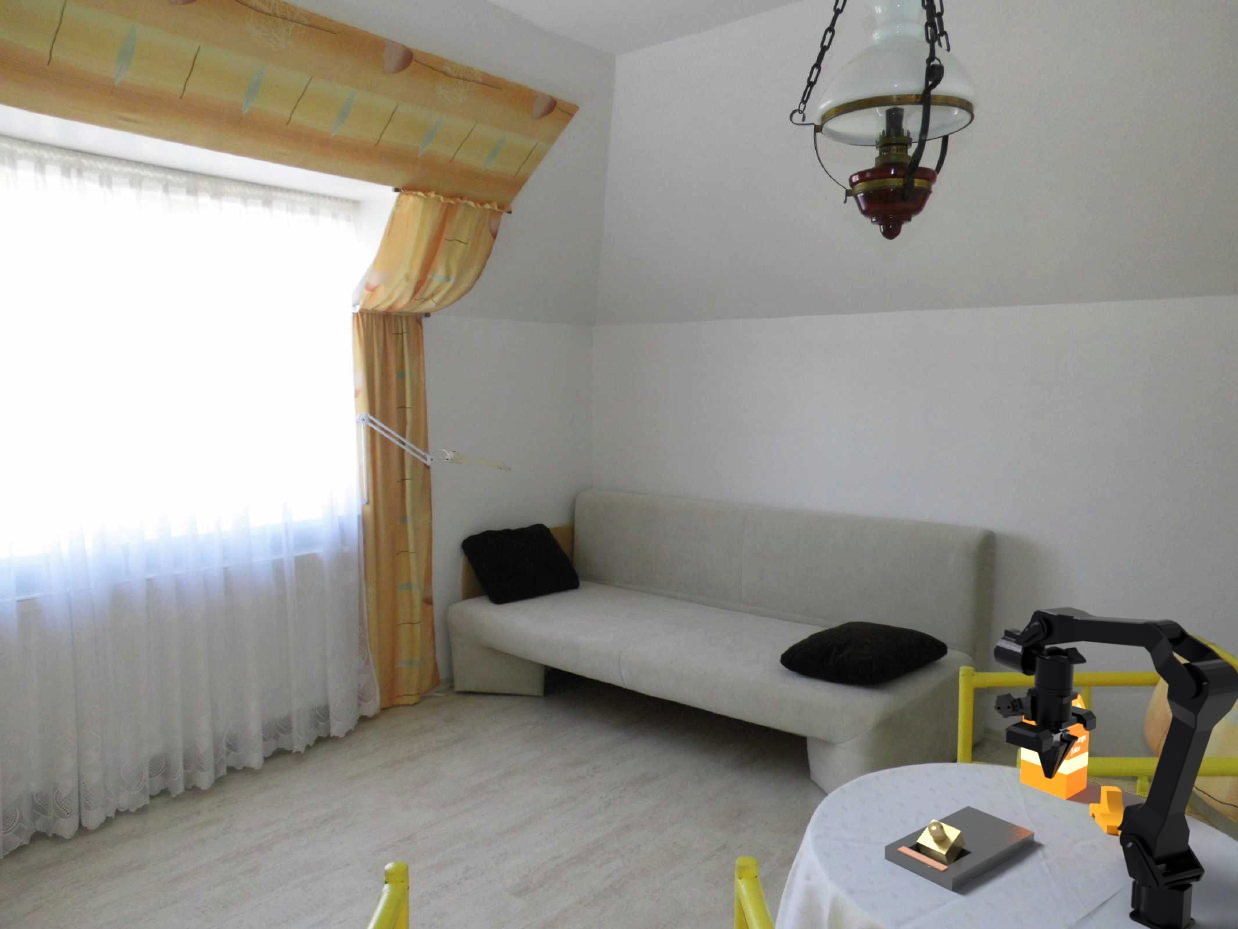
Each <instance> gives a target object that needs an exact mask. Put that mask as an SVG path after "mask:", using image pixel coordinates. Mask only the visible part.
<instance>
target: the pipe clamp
mask: <svg viewBox="0 0 1238 929" xmlns="http://www.w3.org/2000/svg"><path fill="white" fill-rule="evenodd" d="M1100 787H1101V788H1100V789H1101V790H1100V803H1090V804H1089V815H1090V817H1092V818H1095V819H1094V822H1095V823H1096V824H1097V825H1098V826H1099V827H1100V828H1101V830H1102V831H1103V832H1104V833H1105V834H1106V835H1109V834H1110V835H1118V836H1119V838H1120V833H1121V831H1119V830H1117V828H1118V827H1119V826H1120V824H1121V822H1122V819H1123V811H1124V809H1125V807H1124V802H1123V791H1122V790H1121V789H1120V788H1119V787H1118V786H1111V785H1110V786H1109V785H1107V786H1106V785H1101V786H1100Z"/></svg>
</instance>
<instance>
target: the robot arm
mask: <svg viewBox="0 0 1238 929" xmlns="http://www.w3.org/2000/svg"><path fill="white" fill-rule="evenodd" d="M1003 631H1004V632H1003V633H1004V634H1003V636H1002V637H1000V639H998V641H997V643H996V646H995V647H994V649H993V657H994V660H995V662H996V663H997V664H998V665H999V666H1000V667H1003V668H1006V669H1008V670H1010V671H1014V672H1016V673H1018V674H1021V675H1024V676H1028V677H1034V679H1033V686H1032V687H1030V688H1028V689H1027V690H1026V692H1021V693H1012V694H1011V692H1007V693H1005V694H1004V693H1000V694H997V695H996V698H995V701H994V702H995V705H994V706H993V707H994V710H995V711H996V712H997V713H998V714H999V715H1001V717H1002V718H1003V719H1009V717H1023V715H1024V720H1028V721H1034V722H1035V724H1036V725H1033V724H1030V723H1026V722H1023V720H1022V721H1018V722H1016V723H1013V724H1011V725H1009V726H1008V727H1006V728H1005V729H1004V739H1003V740H1004V742H1005V744H1010V745H1013V746H1016V747H1019V748H1021V747H1022V748H1025V749H1028V750H1031V751H1034V752H1037V753H1038V756H1039V760H1040V763H1041V766H1042V770H1043V773H1044V776H1045V778H1048V779H1052V778H1054V776H1055V774H1056V773H1057V771H1058V770H1059V768H1060V766H1061V765H1062V763H1063V761H1064V760H1065V758H1066V756H1067V755H1068V753H1069V752H1070V750H1071V749H1072V747H1073V746H1074V744H1075V743H1076V741H1078V739H1079V737H1077V736H1075V735H1071V734H1070V730H1068V728H1069V727H1071V726H1073V725H1076V724H1082V725H1083V728H1084V730H1085V731H1089V732H1090V731H1092V730H1095V729H1097V728H1096V727H1097V716H1096V715H1095V713H1094V712H1093V711H1092V710H1091V709H1087V708H1085V709H1084V708H1080V707H1076V706H1073V705H1072V701H1073V700H1075V699H1078V695H1079V692H1078V691H1074V674H1075V673H1074V672H1075V665H1082V664H1087V659H1086V657H1085V656H1084V655H1083V654H1081V653H1080V652H1079V649H1078V648H1077V646H1076V647H1075V646H1072V647H1065V648H1063V647H1059V646H1057V645H1061V644H1062V645H1063V644H1070V643H1079V642H1087V643H1098V644H1106V645H1107V644H1110V645H1116V646H1117V645H1119V646H1120V645H1121V646H1128V647H1129V646H1130V647H1139V648H1140V647H1141V648H1144V649H1145V650H1146V651H1147V652H1148V654H1150V658H1151V660H1152V664H1153V666H1154V669H1155V671H1156V673H1157V674H1158V675H1159V676H1160V678H1161V679H1162V680H1163V681H1164V682H1165V683H1166V684H1167V691H1166V699H1167V703H1168V706H1169V708H1170V711H1171V719H1170V722H1169V726H1168V729H1167V733H1166V735H1165V738H1164V742H1163V745H1162V748H1161V751H1160V754H1159V757H1158V760H1157V764H1156V767H1155V770H1154V773H1153V776H1152V779H1151V781H1150V786H1149V788H1148V791H1147V792H1148V793H1147V796H1146V798H1145V800H1144V801H1143V802H1139V803H1134V804H1130V805H1126V806H1125V807H1124V811H1123V819H1122V822H1121V824H1120V826H1119V827H1118V828H1117V830H1119V831H1121V833H1120V837H1119V840H1118V841H1119V845H1120V846H1121V849H1122V852H1123V856H1124V861H1125V865H1126V870H1127V874H1128V877H1129V878H1131V879H1133V880H1132V881H1131V897H1130V907H1131V909H1132V910H1131V911H1130V912H1129V913H1128V917H1129V919H1131V920H1134V921H1137V922H1138V923H1141V924H1143V925H1145V926H1148V927H1150V928H1153V929H1190V928H1192V927H1193V926H1194V925H1195V924H1196V919H1195V918H1193V917H1192V916H1191V915H1192V900H1193V886H1194V885H1193V884H1192V883H1198V882H1200V881H1201V880H1202V878H1203V876H1204V875H1205V872H1206V871H1205V868H1204V867H1203V865H1202V864H1201V862H1200V860H1199V858H1198V857H1197V855H1196V853H1194V850H1193V849H1192V848H1191V845H1190V844H1189V842H1190V834H1191V832H1190V831H1191V830H1190V827H1189V824H1188V822H1187V821H1188V820H1187V819H1186V811H1187V807H1188V804H1189V801H1190V799H1191V795H1192V792H1193V789H1194V788H1195V787H1194V786H1195V783H1196V780H1197V777H1198V774H1199V771H1200V768H1201V766H1202V762H1203V759H1204V756H1205V754H1206V750H1207V748H1208V744H1209V742H1210V739H1211V735H1212V732H1213V730H1214V728H1215V726H1216V725H1218V724H1219V723H1220V722H1221V720H1222V719H1223V718H1225V717H1226V715H1227V714H1228V713H1230V712H1231V711H1232V709H1233V707H1234V706H1235V704H1236V703H1237V701H1238V670H1236V668H1235V667H1234V666H1233V665H1232V664H1230V662H1228V661H1226V660H1225V659H1224V658H1222V657H1221V656H1220V655H1219V653H1218V652H1216V650H1214V649H1213V648H1212V647H1210V646H1209V645H1207V644H1206V643H1204V642H1203V641H1201V640H1199V639H1198V638H1196V637H1194V636H1193V635H1192V634H1189V633H1188V632H1187V631H1186V629H1184V628H1183V626H1182V625H1181V624H1180V623H1178V622H1177V621H1176V620H1172V619H1168V618H1165V619H1144V618H1143V619H1142V618H1128V617H1126V618H1125V617H1112V616H1111V617H1109V616H1098V615H1093V614H1090V613H1089V612H1087V611H1085V610H1081V609H1078V608H1074V607H1071V606H1065V607H1053V608H1042V609H1041V608H1040V609H1036V610H1034V611H1033V612H1032V615H1031V618H1030V621H1029V622H1028V624H1027V625H1026V626H1025V627H1024V628H1023V630H1022V631H1021V630H1019V629H1016V628H1007V629H1006V628H1005V629H1004V630H1003ZM1046 646H1050V647H1046ZM1175 654H1176V655H1178V656H1179V657H1181V658H1182V659H1184V660H1185V661H1187V662H1183V663H1182V662H1181V661H1180V659H1178V658H1177V657H1176V656H1175Z"/></svg>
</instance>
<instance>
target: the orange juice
mask: <svg viewBox="0 0 1238 929" xmlns="http://www.w3.org/2000/svg"><path fill="white" fill-rule="evenodd" d="M1072 705H1073V706H1076V707H1080V708H1084V709H1086V706H1085V703H1084V702H1083V698H1082V696H1081V694H1078V699H1075V700H1073V701H1072ZM1022 721H1023V722H1026V723H1030V724H1033V725H1036V724H1035V722H1034V721H1028V720H1024V715H1023V716H1022ZM1068 730H1070V734H1071V735H1075V736H1077V737H1079V739H1078V741H1076V743H1075V744H1074V746H1073V747H1072V749H1071V750H1070V752H1069V753H1068V755H1067V756H1066V758H1065V760H1064V761H1063V763H1062V765H1061V766H1060V768H1059V770H1058V771H1057V773H1056V774H1055V776H1054V778H1052V779H1048V778H1045V776H1044V773H1043V770H1042V766H1041V763H1040V760H1039V756H1038V753H1037V752H1034V751H1031V750H1028V749H1025V748H1022V747H1020V748H1021V749H1020V779H1019V781H1020V783H1022V784H1024V785H1027V786H1030V787H1032V788H1035V789H1037V790H1039V791H1042V792H1045V793H1047V794H1050V795H1052V796H1055V797H1058V798H1059V799H1060V798H1061V800H1062V799H1063V800H1064V801H1065V800H1067V799H1069V798H1071V797H1072V796H1074V795H1076V794H1077V793H1079V792H1081V791H1083V790H1084V789H1086V788H1087V776H1088V762H1089V761H1088V760H1089V736H1090V731H1085V730H1084V728H1083V725H1082V724H1076V725H1073V726H1071V727H1069V728H1068Z"/></svg>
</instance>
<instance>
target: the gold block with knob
mask: <svg viewBox="0 0 1238 929" xmlns="http://www.w3.org/2000/svg"><path fill="white" fill-rule="evenodd" d="M927 826H928V827H927V828H926V830H925V831H924V832H923V834H922V835H921V837H920V838H919V839H918V841H917V843H918V846H919V849H920V851H921V853H920V854H922V855H924V856H927V857H929V858H931V859H933V860H935V861H937V862H939V863H942V864H944V865H946V866H948V865H950V864H952V863H954V862H955V861H956V859H957V858H956V857H957V855H958V854H959V853H960V851H961V850H962V848H963V847H964V845H965V841H964V839H963V836H962V833H961V831H960V830H957V829H955V828H953V827H950V826H948V825H946V824H943V823H941V822H938V820H937V819H936V820H935V819H932V820H931V821H930V823H929V824H928V825H927Z"/></svg>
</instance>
